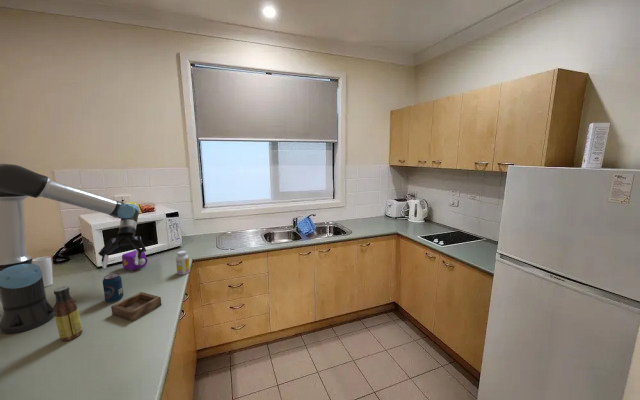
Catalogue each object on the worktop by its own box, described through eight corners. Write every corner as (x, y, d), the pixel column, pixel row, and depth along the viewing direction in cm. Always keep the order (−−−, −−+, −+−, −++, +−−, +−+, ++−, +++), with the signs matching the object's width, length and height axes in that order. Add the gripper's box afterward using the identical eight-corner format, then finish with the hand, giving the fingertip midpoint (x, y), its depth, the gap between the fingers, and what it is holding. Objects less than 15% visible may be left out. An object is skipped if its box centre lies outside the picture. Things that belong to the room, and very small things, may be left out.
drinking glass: (34, 286, 136) (29, 259, 133) (52, 281, 142) (47, 255, 139) (39, 289, 133) (34, 262, 130) (57, 284, 139) (52, 257, 136)
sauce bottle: (81, 328, 102) (73, 281, 99) (84, 335, 98) (76, 287, 95) (57, 337, 97) (49, 288, 94) (60, 344, 93) (51, 294, 90)
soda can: (101, 303, 120) (97, 279, 118) (113, 295, 127) (110, 272, 125) (115, 303, 120) (112, 279, 118) (127, 295, 127) (124, 272, 125)
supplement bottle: (189, 269, 158) (187, 249, 156) (190, 273, 152) (188, 252, 150) (176, 271, 154) (174, 251, 152) (177, 276, 148) (175, 254, 146)
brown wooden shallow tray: (132, 321, 107) (131, 312, 106) (112, 314, 111) (111, 306, 111) (161, 305, 119) (160, 297, 118) (142, 299, 124) (141, 291, 123)
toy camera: (138, 272, 153) (136, 256, 152) (119, 270, 156) (117, 254, 154) (153, 265, 164) (152, 250, 162) (135, 263, 167) (133, 248, 165)
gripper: (155, 230, 149) (150, 265, 137) (102, 235, 141) (93, 272, 129) (151, 224, 143) (146, 259, 132) (96, 228, 135) (86, 266, 123)
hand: (120, 266), depth 130 cm, fingers open, 13 cm apart
